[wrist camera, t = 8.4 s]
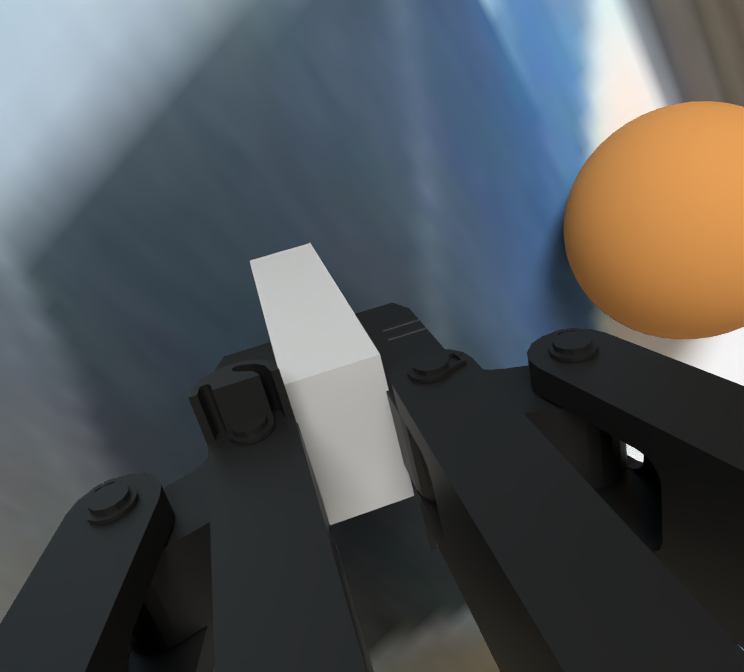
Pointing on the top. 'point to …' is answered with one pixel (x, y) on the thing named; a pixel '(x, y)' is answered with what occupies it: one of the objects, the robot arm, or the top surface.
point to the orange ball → (664, 222)
